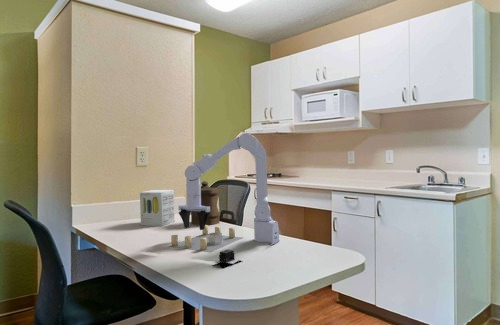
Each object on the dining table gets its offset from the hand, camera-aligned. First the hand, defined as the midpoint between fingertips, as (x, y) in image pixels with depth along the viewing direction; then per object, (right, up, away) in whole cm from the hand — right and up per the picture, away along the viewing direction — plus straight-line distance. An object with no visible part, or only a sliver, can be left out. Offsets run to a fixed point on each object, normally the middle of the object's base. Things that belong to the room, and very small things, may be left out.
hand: (194, 228), depth 142 cm
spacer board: (+5, -6, -3) cm, 8 cm away
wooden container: (-1, -5, +44) cm, 44 cm away
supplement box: (-27, -6, +45) cm, 53 cm away
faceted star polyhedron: (+9, -5, -5) cm, 11 cm away
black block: (+15, -7, -28) cm, 33 cm away
